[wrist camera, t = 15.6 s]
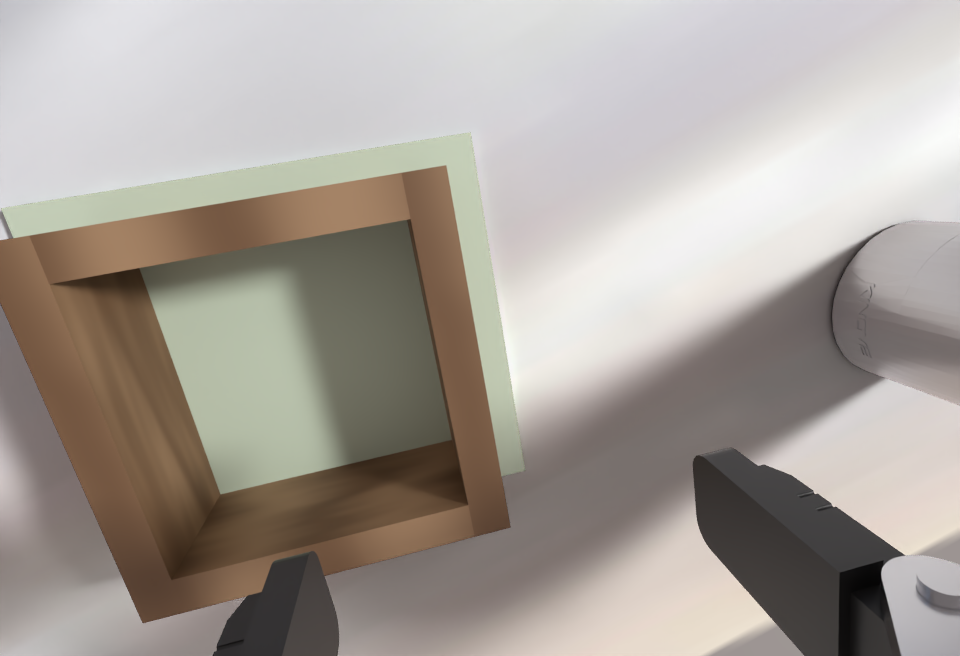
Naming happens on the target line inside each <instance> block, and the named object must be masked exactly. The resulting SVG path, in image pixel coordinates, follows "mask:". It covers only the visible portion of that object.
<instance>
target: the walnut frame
mask: <svg viewBox="0 0 960 656" xmlns="http://www.w3.org/2000/svg"><path fill="white" fill-rule="evenodd" d="M403 220H407V222H408V227H409V232H410V237H411V242H412V247H413V252H414V257H415V261H416V266H417V271H418V276H419V281H420V286H421V291H422V296H423V301H424V306H425V310H426V315H427V320H428V325H429V330H430V335H431V340H432V345H433V350H434V355H435V360H436V364H437V369H438V374H439V379H440V384H441V389H442V394H443V399H444V404H445V409H446V414H447V418H448V423H449V428H450V433H451V438H452V440H449V441H445V442H441V443H436V444H432V445H428V446H424V447H419V448H415V449H411V450H407V451H402V452H398V453H394V454H390V455H386V456H381V457H377V458H373V459H369V460H364V461H360V462H356V463H352V464H347V465H343V466H339V467H335V468H330V469H326V470H322V471H318V472H313V473H309V474H305V475H301V476H296V477H292V478H288V479H284V480H279V481H275V482H271V483H267V484H263V485H258V486H254V487H250V488H246V489H241V490H237V491H233V492H229V493H224V494H220V492H219V489H218V486H217V483H216V480H215V478H214V475H213V472H212V469H211V467H210V464H209V461H208V458H207V455H206V453H205V450H204V447H203V444H202V441H201V439H200V436H199V433H198V430H197V427H196V425H195V422H194V419H193V416H192V414H191V411H190V408H189V405H188V402H187V400H186V397H185V394H184V391H183V388H182V386H181V383H180V380H179V377H178V375H177V372H176V369H175V366H174V363H173V361H172V358H171V355H170V352H169V349H168V347H167V344H166V341H165V338H164V335H163V333H162V330H161V327H160V324H159V322H158V319H157V316H156V313H155V310H154V308H153V305H152V302H151V299H150V296H149V294H148V291H147V288H146V285H145V283H144V280H143V277H142V274H141V271H140V269H139V268H142V267H148V266H153V265H159V264H164V263H170V262H175V261H181V260H186V259H192V258H197V257H203V256H209V255H214V254H220V253H225V252H231V251H236V250H242V249H247V248H253V247H258V246H264V245H270V244H275V243H281V242H286V241H292V240H297V239H303V238H308V237H314V236H319V235H325V234H330V233H336V232H342V231H347V230H353V229H358V228H364V227H369V226H375V225H380V224H386V223H391V222H397V221H403ZM0 303H1V306H2V308H3V310H4V312H5V315H6V317H7V319H8V321H9V324H10V326H11V328H12V330H13V333H14V335H15V337H16V339H17V342H18V344H19V346H20V348H21V351H22V353H23V355H24V357H25V360H26V362H27V364H28V366H29V369H30V371H31V373H32V375H33V378H34V380H35V382H36V384H37V387H38V389H39V391H40V393H41V396H42V398H43V400H44V402H45V405H46V407H47V409H48V411H49V414H50V416H51V418H52V420H53V423H54V425H55V427H56V429H57V432H58V434H59V436H60V438H61V441H62V443H63V445H64V447H65V450H66V452H67V454H68V456H69V459H70V461H71V463H72V465H73V468H74V470H75V472H76V474H77V477H78V479H79V481H80V483H81V485H82V488H83V490H84V492H85V494H86V497H87V499H88V501H89V503H90V506H91V508H92V510H93V512H94V515H95V517H96V519H97V521H98V524H99V526H100V528H101V530H102V533H103V535H104V537H105V539H106V542H107V544H108V546H109V548H110V551H111V553H112V555H113V557H114V560H115V562H116V564H117V566H118V569H119V571H120V573H121V575H122V578H123V580H124V582H125V584H126V587H127V589H128V591H129V593H130V596H131V598H132V600H133V602H134V605H135V607H136V609H137V611H138V614H139V616H140V618H141V620H142V623H146V622H150V621H154V620H157V619H161V618H165V617H169V616H173V615H177V614H180V613H184V612H188V611H192V610H196V609H200V608H203V607H207V606H211V605H215V604H219V603H223V602H226V601H230V600H234V599H238V598H242V597H246V596H248V595H252V594H256V593H259V592H262V589H263V587H264V584H265V581H266V578H267V576H268V573H269V570H270V567H271V565H272V563H273V562H274V561H275V560H278V559H282V558H286V557H290V556H294V555H298V554H302V553H306V552H310V551H314V552H315V553H316V554H317V556H318V558H319V561H320V564H321V567H322V570H323V573H324V576H326V575H330V574H334V573H338V572H341V571H345V570H349V569H353V568H357V567H361V566H364V565H368V564H372V563H376V562H380V561H384V560H387V559H391V558H395V557H399V556H403V555H407V554H410V553H414V552H418V551H422V550H426V549H430V548H433V547H437V546H441V545H445V544H449V543H453V542H456V541H460V540H464V539H468V538H472V537H476V536H479V535H483V534H487V533H491V532H495V531H499V530H502V529H506V528H510V522H509V516H508V510H507V505H506V499H505V493H504V488H503V482H502V476H501V471H500V465H499V460H498V454H497V448H496V443H495V437H494V431H493V426H492V420H491V414H490V409H489V403H488V397H487V392H486V386H485V380H484V375H483V369H482V364H481V358H480V352H479V347H478V341H477V335H476V330H475V324H474V318H473V313H472V307H471V301H470V296H469V290H468V284H467V279H466V273H465V268H464V262H463V256H462V251H461V245H460V239H459V234H458V228H457V222H456V217H455V211H454V205H453V200H452V194H451V189H450V183H449V177H448V172H447V166H446V165H444V166H438V167H432V168H426V169H420V170H415V171H409V172H403V173H397V174H391V175H385V176H379V177H373V178H367V179H361V180H355V181H349V182H343V183H338V184H332V185H326V186H320V187H314V188H308V189H302V190H296V191H290V192H284V193H278V194H272V195H267V196H261V197H255V198H249V199H243V200H237V201H231V202H225V203H219V204H213V205H207V206H201V207H195V208H190V209H184V210H178V211H172V212H166V213H160V214H154V215H148V216H142V217H136V218H130V219H124V220H118V221H113V222H107V223H101V224H95V225H89V226H83V227H77V228H71V229H65V230H59V231H53V232H47V233H42V234H36V235H30V236H24V237H18V238H12V239H6V240H0Z"/></svg>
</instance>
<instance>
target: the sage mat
mask: <svg viewBox="0 0 960 656" xmlns="http://www.w3.org/2000/svg"><path fill="white" fill-rule="evenodd" d="M444 165H446V166H447V172H448V177H449V183H450V189H451V194H452V200H453V205H454V211H455V217H456V222H457V228H458V234H459V239H460V245H461V251H462V256H463V262H464V268H465V273H466V279H467V284H468V290H469V296H470V301H471V307H472V313H473V318H474V324H475V330H476V335H477V341H478V347H479V352H480V358H481V364H482V369H483V375H484V380H485V386H486V392H487V397H488V403H489V409H490V414H491V420H492V426H493V431H494V437H495V443H496V448H497V454H498V460H499V465H500V471H501V476H506V475H510V474H514V473H518V472H523V471H525V466H524V460H523V454H522V447H521V441H520V435H519V429H518V423H517V416H516V410H515V404H514V398H513V392H512V386H511V379H510V373H509V367H508V361H507V355H506V348H505V342H504V336H503V330H502V324H501V317H500V311H499V305H498V299H497V293H496V286H495V280H494V274H493V268H492V262H491V256H490V249H489V243H488V237H487V231H486V225H485V218H484V212H483V206H482V200H481V194H480V187H479V181H478V175H477V169H476V163H475V156H474V150H473V144H472V138H471V132H470V133H463V134H457V135H451V136H445V137H439V138H433V139H426V140H420V141H414V142H408V143H402V144H395V145H389V146H383V147H377V148H371V149H365V150H358V151H352V152H346V153H340V154H334V155H328V156H321V157H315V158H309V159H303V160H297V161H290V162H284V163H278V164H272V165H266V166H260V167H253V168H247V169H241V170H235V171H229V172H223V173H216V174H210V175H204V176H198V177H192V178H185V179H179V180H173V181H167V182H161V183H155V184H148V185H142V186H136V187H130V188H124V189H117V190H111V191H105V192H99V193H93V194H87V195H80V196H74V197H68V198H62V199H56V200H50V201H43V202H37V203H31V204H25V205H19V206H12V207H6V208H1V210H2V212H3V215H4V217H5V219H6V222H7V224H8V226H9V229H10V231H11V234H12V236H13V238H18V237H24V236H30V235H36V234H42V233H47V232H53V231H59V230H65V229H71V228H77V227H83V226H89V225H95V224H101V223H107V222H113V221H118V220H124V219H130V218H136V217H142V216H148V215H154V214H160V213H166V212H172V211H178V210H184V209H190V208H195V207H201V206H207V205H213V204H219V203H225V202H231V201H237V200H243V199H249V198H255V197H261V196H267V195H272V194H278V193H284V192H290V191H296V190H302V189H308V188H314V187H320V186H326V185H332V184H338V183H343V182H349V181H355V180H361V179H367V178H373V177H379V176H385V175H391V174H397V173H403V172H409V171H415V170H420V169H426V168H432V167H438V166H444ZM139 269H140V271H141V274H142V277H143V280H144V283H145V285H146V288H147V291H148V294H149V296H150V299H151V302H152V305H153V308H154V310H155V313H156V316H157V319H158V322H159V324H160V327H161V330H162V333H163V335H164V338H165V341H166V344H167V347H168V349H169V352H170V355H171V358H172V361H173V363H174V366H175V369H176V372H177V375H178V377H179V380H180V383H181V386H182V388H183V391H184V394H185V397H186V400H187V402H188V405H189V408H190V411H191V414H192V416H193V419H194V422H195V425H196V427H197V430H198V433H199V436H200V439H201V441H202V444H203V447H204V450H205V453H206V455H207V458H208V461H209V464H210V467H211V469H212V472H213V475H214V478H215V480H216V483H217V486H218V489H219V492H220V494H224V493H229V492H233V491H237V490H241V489H246V488H250V487H254V486H258V485H263V484H267V483H271V482H275V481H279V480H284V479H288V478H292V477H296V476H301V475H305V474H309V473H313V472H318V471H322V470H326V469H330V468H335V467H339V466H343V465H347V464H352V463H356V462H360V461H364V460H369V459H373V458H377V457H381V456H386V455H390V454H394V453H398V452H402V451H407V450H411V449H415V448H419V447H424V446H428V445H432V444H436V443H441V442H445V441H449V440H452V438H451V433H450V428H449V423H448V418H447V414H446V409H445V404H444V399H443V394H442V389H441V384H440V379H439V374H438V369H437V364H436V360H435V355H434V350H433V345H432V340H431V335H430V330H429V325H428V320H427V315H426V310H425V306H424V301H423V296H422V291H421V286H420V281H419V276H418V271H417V266H416V261H415V257H414V252H413V247H412V242H411V237H410V232H409V227H408V222H407V220H403V221H397V222H391V223H386V224H380V225H375V226H369V227H364V228H358V229H353V230H347V231H342V232H336V233H330V234H325V235H319V236H314V237H308V238H303V239H297V240H292V241H286V242H281V243H275V244H270V245H264V246H258V247H253V248H247V249H242V250H236V251H231V252H225V253H220V254H214V255H209V256H203V257H197V258H192V259H186V260H181V261H175V262H170V263H164V264H159V265H153V266H148V267H142V268H139Z"/></svg>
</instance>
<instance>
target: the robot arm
mask: <svg viewBox="0 0 960 656" xmlns="http://www.w3.org/2000/svg"><path fill="white" fill-rule="evenodd" d="M832 322H833V332H834V335H835V338H836V342H837V345H838V346H839V348H840V350H841V351H842V353H843V355H844V356H845V357H846V358H847V359H848V360H849V361H850V362H851V363H852V364H853V365H855V366H857V367H859V368H861V369H863V370H865V371H868V372H871V373H873V374H876V375H879V376H881V377H884V378H887V379H890V380H892V381H895V382H898V383H901V384H903V385H906V386H909V387H912V388H914V389H917V390H920V391H923V392H925V393H927V394H930V395H933V396H935V397H938V398H941V399H944V400H946V401H949V402H952V403H955V404H957V405H960V223H957V222H932V221H911V222H905V223H900V224H897V225H895V226H893V227H890V228H888V229H886V230H884V231H882V232H881V233H880V234H878V235H877V236H875V237H874V238H872V239H871V240H870V241H869V242H868V243H867V244H866V245H865V246H864V247H863V248H862V249H861V250H859V251H858V253H857V254H856V255H855V257H854V258H853V259H852V261H851V262H850V264H849V265H848V266H847V268H846V270H845V272H844V274H843V276H842V278H841V280H840V282H839V285H838V288H837V291H836V294H835V298H834V304H833V312H832ZM693 474H694V488H695V501H696V515H697V522H698V526H699V529H700V532H701V534H702V536H703V538H704V540H705V542H706V544H707V545H708V547H709V548H710V549H711V551H712V552H713V553H714V554H715V555H716V556H717V557H718V558H719V560H720V561H721V562H722V563H723V564H724V565H725V566H726V568H727V569H728V570H729V571H730V572H731V573H732V574H733V575H734V577H735V578H736V579H737V580H738V581H739V582H740V583H741V584H742V586H743V587H744V588H745V589H746V590H747V591H748V592H749V594H750V595H751V596H752V597H753V598H754V599H755V600H756V601H757V603H758V604H759V605H760V606H761V607H762V608H763V609H764V610H765V612H766V613H767V614H768V615H769V616H770V617H771V618H772V620H773V621H774V622H775V623H776V624H777V625H778V626H779V627H780V629H781V630H782V631H783V632H784V633H785V634H786V635H787V636H788V638H789V639H790V640H791V641H792V642H793V643H794V644H795V645H796V647H797V648H798V649H799V650H800V651H801V652H802V653H803V655H804V656H960V565H959V564H956V563H953V562H951V561H947V560H943V559H940V558H935V557H930V556H922V555H907V556H905V555H904V554H902V553H901V552H899V551H898V550H897V549H895V548H894V547H892V546H891V545H890V544H888V543H887V542H885V541H884V540H882V539H881V538H880V537H878V536H877V535H875V534H874V533H872V532H871V531H870V530H868V529H867V528H865V527H864V526H863V525H861V524H860V523H858V522H857V521H855V520H854V519H853V518H851V517H850V516H848V515H847V514H846V513H844V512H843V511H841V510H840V509H838V508H837V507H833V506H832V505H831V503H830V502H829V501H827V500H826V499H824V498H823V497H821V496H820V495H819V494H814V492H813V490H812V489H810V488H809V487H807V486H806V485H804V484H803V483H802V482H800V481H799V480H797V479H796V478H794V477H793V476H792V475H789V474H787V473H784V472H782V471H779V470H776V469H774V468H771V467H769V466H766V465H761V466H757V465H756V464H754V463H753V462H752V461H750V460H749V459H748V458H746V457H745V456H744V455H742V454H741V453H740V452H738V451H737V450H735V449H733V448H726V449H722V450H718V451H714V452H710V453H706V454H702V455H698V456H696V457H695V458H694V461H693ZM338 647H339V629H338V621H337V615H336V611H335V608H334V605H333V602H332V599H331V596H330V592H329V589H328V586H327V583H326V580H325V577H324V573H323V570H322V567H321V564H320V561H319V558H318V556H317V554H316V553H315V552H314V551H310V552H306V553H302V554H298V555H294V556H290V557H286V558H282V559H278V560H275V561H274V562H273V563H272V565H271V567H270V570H269V573H268V576H267V578H266V581H265V584H264V587H263V589H262V592H259V593H256V594H252V595H248V596H247V597H246V598H245V600H244V601H243V602H242V603H241V604H240V606H239V607H238V608H237V609H236V611H235V612H234V613H233V614H232V615H231V617H230V618H229V619H228V620H227V623H226V625H225V627H224V630H223V632H222V635H221V637H220V639H219V642H218V644H217V651H216V652H214V654H213V656H337V655H338Z"/></svg>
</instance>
